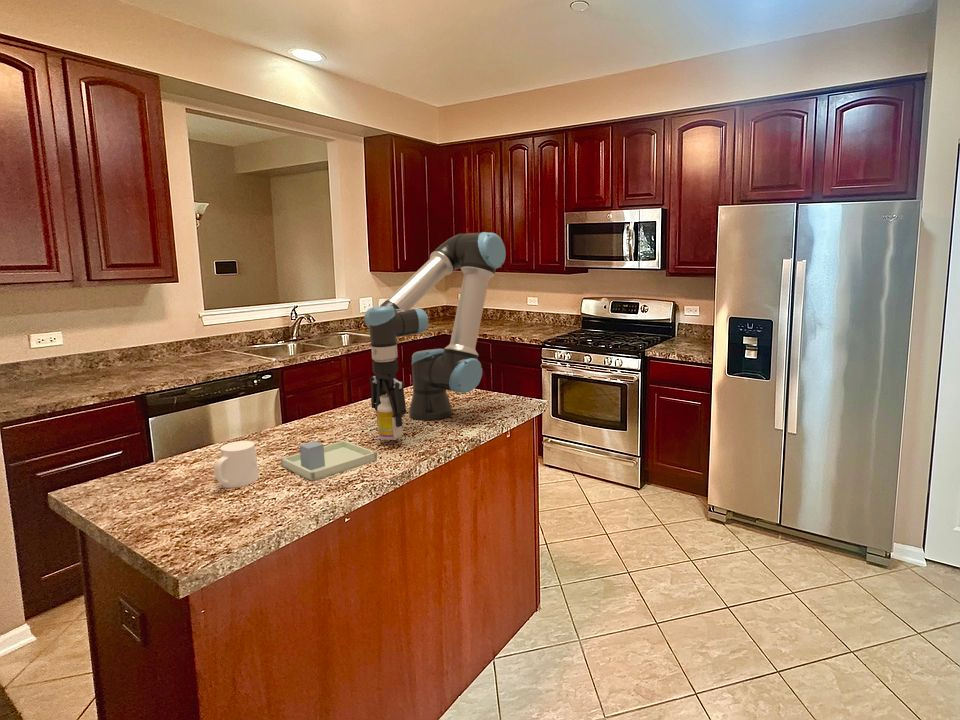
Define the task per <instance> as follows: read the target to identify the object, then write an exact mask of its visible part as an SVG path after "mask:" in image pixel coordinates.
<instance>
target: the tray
mask: <svg viewBox="0 0 960 720" xmlns="http://www.w3.org/2000/svg"><path fill="white" fill-rule="evenodd" d="M377 453H378V452H376V451H374V450H371V449H369V448H365V447H363V446H360V445H357V444H355V443H353V442H349V441H347V440H341V441H337V442H333V443H329V444H327V445H324V458H325V466H323V467H320V468H316V469H313V470H309V469H307V468H305V467H302V466H301V458H300V452H299V453H296V454H292V455H288V456H285V457H282V458H280V463H281V464H280V465H281V467H282V468H285V470H286V469H287V470H288V471H291V472H292V473H295V474H296V475H299V476H300V477H303V478H304V479H306V480H309V481H311V482H315V481H318V480H320V479H324V478H327V477H329V476H333V475H336V474H338V473H341V472H345V471H348V470H351V469H354V468H357V467H360V466H363V465H366V464H369V463H372V462H375V461H378V454H377Z"/></svg>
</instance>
